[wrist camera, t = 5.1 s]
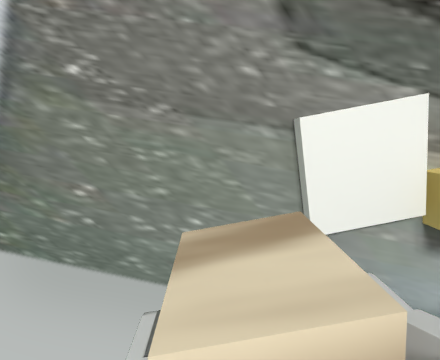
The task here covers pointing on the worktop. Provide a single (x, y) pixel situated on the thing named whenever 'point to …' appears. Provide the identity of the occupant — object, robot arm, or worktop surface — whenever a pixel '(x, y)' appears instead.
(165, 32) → the worktop surface
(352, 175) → the plate
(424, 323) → the robot arm
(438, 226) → the mustard brick
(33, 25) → the worktop surface
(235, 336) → the beech brick
